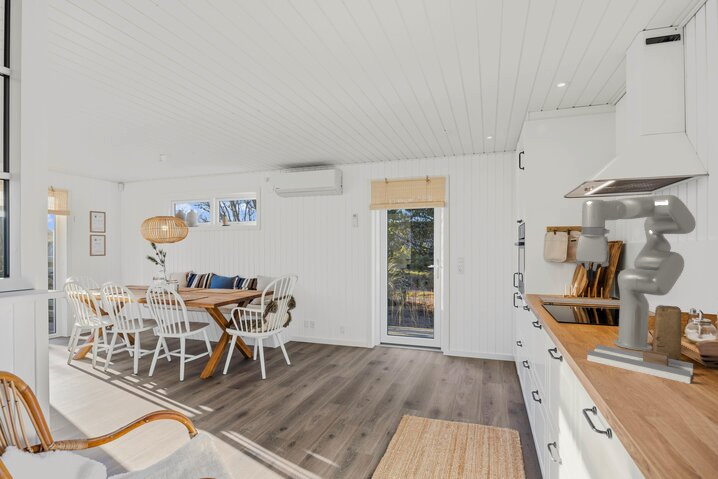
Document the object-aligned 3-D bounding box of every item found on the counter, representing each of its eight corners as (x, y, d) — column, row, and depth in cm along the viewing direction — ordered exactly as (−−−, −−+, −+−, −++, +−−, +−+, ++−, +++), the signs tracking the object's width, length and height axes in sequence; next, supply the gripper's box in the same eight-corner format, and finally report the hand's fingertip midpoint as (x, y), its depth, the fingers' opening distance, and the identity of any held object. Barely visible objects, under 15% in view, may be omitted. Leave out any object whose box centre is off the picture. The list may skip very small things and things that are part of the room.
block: (680, 369, 124) (683, 310, 124) (652, 364, 129) (654, 306, 128) (678, 361, 132) (681, 305, 132) (652, 356, 137) (654, 303, 137)
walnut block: (645, 361, 125) (645, 349, 125) (668, 366, 121) (668, 353, 121) (642, 364, 122) (643, 352, 122) (666, 369, 117) (666, 357, 117)
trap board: (596, 353, 139) (596, 344, 139) (692, 374, 120) (693, 363, 120) (587, 360, 130) (587, 350, 130) (689, 383, 111) (690, 372, 111)
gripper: (618, 233, 138) (616, 282, 138) (573, 232, 148) (572, 278, 148) (614, 232, 132) (612, 283, 132) (568, 232, 143) (566, 279, 143)
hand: (591, 280), depth 140 cm, fingers closed
